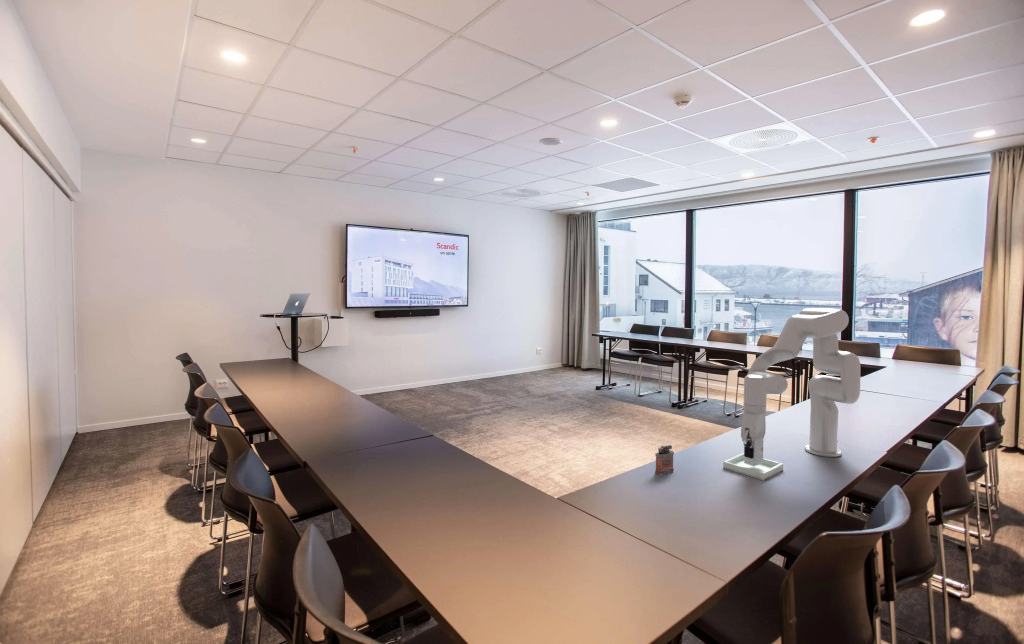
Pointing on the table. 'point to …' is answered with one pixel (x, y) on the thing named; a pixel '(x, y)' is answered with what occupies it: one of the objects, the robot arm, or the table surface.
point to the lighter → (664, 460)
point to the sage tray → (753, 467)
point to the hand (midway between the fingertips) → (753, 454)
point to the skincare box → (756, 453)
